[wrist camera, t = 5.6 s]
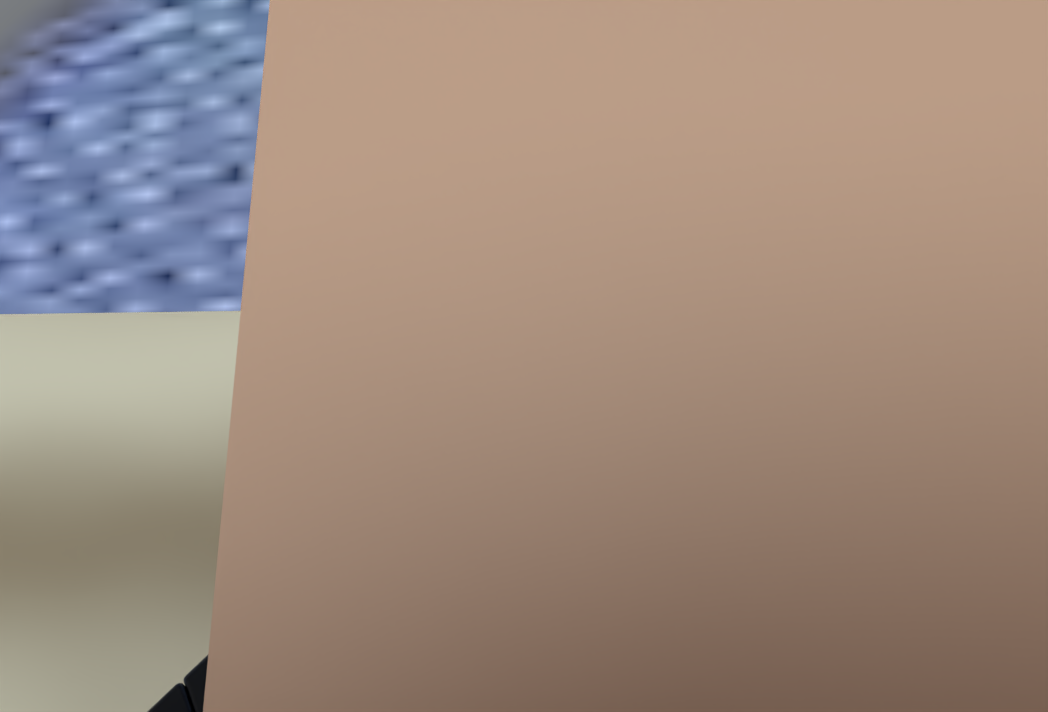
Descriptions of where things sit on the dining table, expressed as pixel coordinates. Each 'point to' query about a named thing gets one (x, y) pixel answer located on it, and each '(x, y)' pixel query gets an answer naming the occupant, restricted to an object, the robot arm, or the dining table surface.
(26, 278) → the dining table surface
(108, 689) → the plinth
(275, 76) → the brown block
